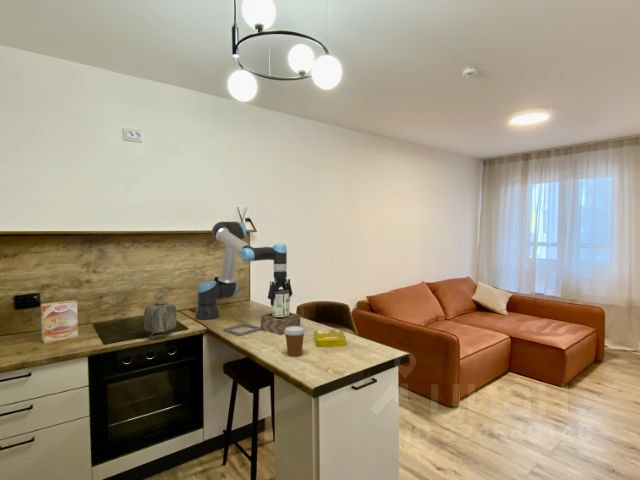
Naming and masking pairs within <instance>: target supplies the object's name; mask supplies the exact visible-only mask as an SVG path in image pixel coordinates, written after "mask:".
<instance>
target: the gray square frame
mask: <svg viewBox="0 0 640 480" xmlns="http://www.w3.org/2000/svg"><path fill="white" fill-rule="evenodd" d="M243 327H245V328H249V330H244V331H242V332H238V331H235V330H236V329H240V328H243ZM222 330H223V332H224V333H227V334H231V335H234V336H237V337H242V336H246V335H249V334H254V333H256V332H260V331H262V330H261V326H260V327H259V326H257V325H252V324H250V323H246V322H245V323H241V324H236V325H233V326H229V327H224V328H223V329H222Z"/></svg>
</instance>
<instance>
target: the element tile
mask: <svg viewBox="0 0 640 480" xmlns="http://www.w3.org/2000/svg"><path fill="white" fill-rule="evenodd" d="M313 340H314V345H315V347H316V348H337V347H340V348H341V347H346V345H347V342H346V341H347V339H346V336H345V333H344V332H343V331H342V330H340V329H332V330H331V329H330V330H314V331H313Z"/></svg>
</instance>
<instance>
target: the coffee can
mask: <svg viewBox="0 0 640 480" xmlns="http://www.w3.org/2000/svg"><path fill="white" fill-rule="evenodd" d="M273 293H275V294H276V296H275V299H274V300H276V311H272V310H271V313H272V316H274V317H286V316H289V315H290V314H289V312H290V302H289V290H283V288H281V289H280V288H279V289H278V291H277V292H273Z"/></svg>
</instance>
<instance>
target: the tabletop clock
mask: <svg viewBox="0 0 640 480" xmlns="http://www.w3.org/2000/svg"><path fill="white" fill-rule="evenodd" d="M159 293H164V296H159V297H157V295H158V294H159ZM166 296H167V292H166V291H165V290H159V291H157V292H156V293H155V294H154V298H155V299H156V301H155V303H153V304H149V305H147V306H146V307H145V308H144V312H143V324H144V325H143V326H144V330H145V331H146V332H151V334H150V335H148V337H147V339H149V340H151V339H152V336H153V335H154V334H155V333H156V334H161V333H162V338H164V339H165V338H166V337H167V335H168V334H169V331H170V330H172V329H174V328H176V326H177V321H178V320H177V319H178V316H177V315H178V314H177V313H178V312H177V308H176V305H175V304H173V303H166V300H165V299H164V298H165V297H166Z"/></svg>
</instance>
